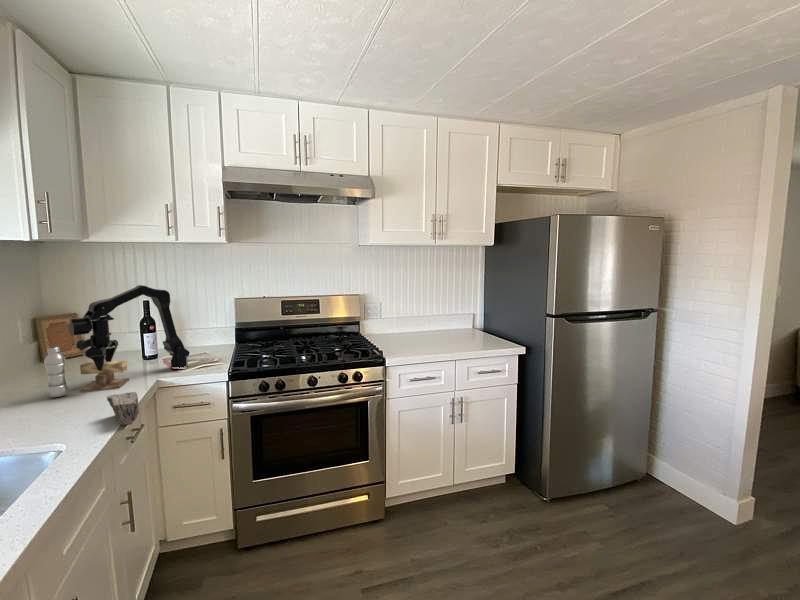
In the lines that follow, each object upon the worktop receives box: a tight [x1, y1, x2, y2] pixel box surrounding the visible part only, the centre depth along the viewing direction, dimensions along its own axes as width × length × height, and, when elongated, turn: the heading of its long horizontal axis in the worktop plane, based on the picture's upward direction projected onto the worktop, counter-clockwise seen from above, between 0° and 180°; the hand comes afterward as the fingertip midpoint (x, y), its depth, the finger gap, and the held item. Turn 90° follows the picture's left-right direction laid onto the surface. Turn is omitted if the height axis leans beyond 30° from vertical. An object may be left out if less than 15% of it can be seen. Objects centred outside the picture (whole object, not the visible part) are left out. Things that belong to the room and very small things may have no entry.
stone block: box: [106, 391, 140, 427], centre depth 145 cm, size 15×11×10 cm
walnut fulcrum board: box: [79, 373, 130, 392], centre depth 180 cm, size 14×12×6 cm
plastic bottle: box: [43, 345, 69, 398], centre depth 166 cm, size 6×7×20 cm
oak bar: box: [79, 360, 128, 375], centre depth 179 cm, size 16×4×4 cm, turn 100°
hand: (104, 367), depth 179 cm, fingers open, 9 cm apart
